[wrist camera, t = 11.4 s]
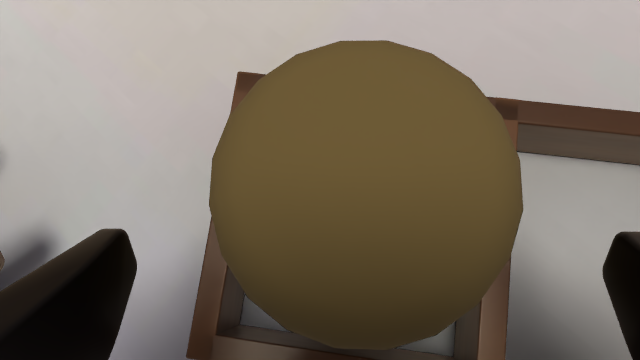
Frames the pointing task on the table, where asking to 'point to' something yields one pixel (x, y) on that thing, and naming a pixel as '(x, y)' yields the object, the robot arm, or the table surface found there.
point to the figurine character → (1, 261)
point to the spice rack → (472, 328)
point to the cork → (365, 194)
